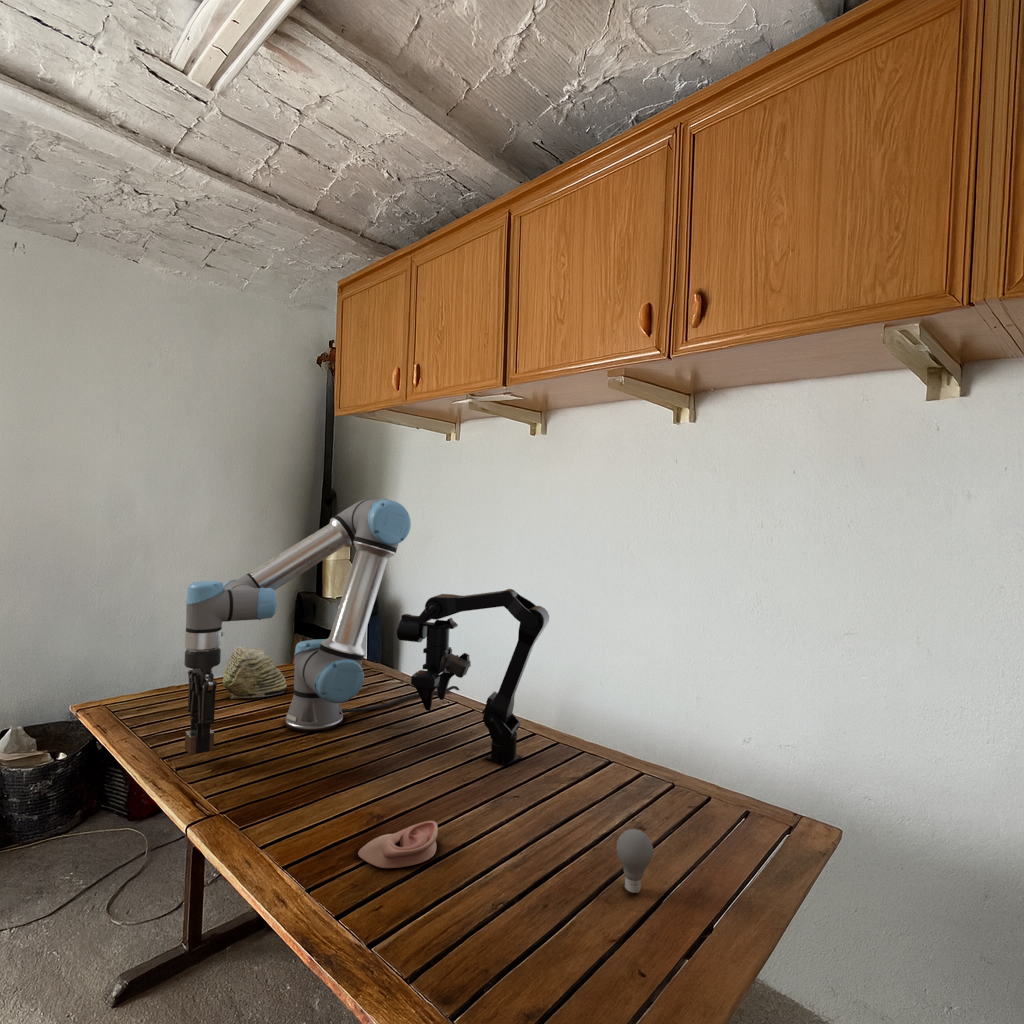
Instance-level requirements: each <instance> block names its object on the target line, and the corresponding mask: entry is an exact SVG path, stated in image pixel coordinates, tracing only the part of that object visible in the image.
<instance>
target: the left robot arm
mask: <svg viewBox="0 0 1024 1024" xmlns="http://www.w3.org/2000/svg"><path fill="white" fill-rule="evenodd" d="M411 526H412V523H411V517H410V514H409V512H408V511H407V508H406V507H405V506H403V505H402V504H401V503H400V502H397V501H396V500H395V501H394V500H392V499H387V498H381V499H378V498H377V499H376V498H365V499H362V500H360V501H357V502H355V503H354V504H352V505H350V506H349V507H347V508H346V509H344V510H342V511H341V512H339V513H338V514H336V515H335V516H332V517H331V518H330V519H329V523H328V524H327V525H325V526H323V527H322V528H320V529H319V530H318V529H317V531H315V532H314V533H312V534H309V536H307V537H305V538H304V539H302V540H300V541H299V542H297V543H296V544H294V545H292V546H290V547H289V548H287V549H286V550H283V551H282V552H281V553H279V554H277V555H276V556H273V558H271V559H269V560H267V561H266V562H264V563H262V564H261V565H259V566H257V567H256V568H254V569H252V570H251V571H249V572H248V573H245V574H244V575H243V576H241V577H239V578H237V579H230V580H228V581H226V582H224V583H223V582H221V581H217V580H199V581H194V582H191V583H190V584H189V585H188V586H187V594H186V601H185V605H186V609H185V630H184V631H185V633H184V648H185V649H186V650H185V651H184V661H183V663H184V666H185V667H186V668H188V669H189V670H188V671H187V677H188V689H187V690H188V691H187V692H188V694H187V695H188V696H187V713H189V717H190V723H189V724H190V729H189V731H191V730H196V729H197V734H196V755H197V754H201V753H207V752H210V751H209V748H210V729H211V724H214V723H215V711H216V709H215V708H216V691H217V685H218V682H217V680H214V679H215V677H214V673H213V670H212V669H214V667H218V666H219V665H220V664H221V655H222V649H221V648H220V646H222V637H224V632H223V631H222V629H223V628H222V627H223V626H222V625H223V623H224V622H225V623H227V622H238V621H239V622H240V621H262V620H266V619H272V618H273V617H274V616H275V614H276V612H277V607H278V606H277V605H278V599H277V593H276V590H278V589H279V588H281V587H283V586H284V585H286V584H287V583H289V582H291V581H292V580H293V579H295V578H297V577H298V576H300V575H302V574H303V573H305V572H306V571H308V570H309V569H311V568H313V567H314V566H316V565H317V564H319V563H320V562H322V561H324V560H325V559H327V558H328V557H330V556H332V555H333V554H335V553H336V552H338V551H340V550H341V549H343V548H344V547H345V548H351V547H353V546H354V547H355V550H356V551H355V553H354V558H353V561H352V563H351V566H350V571H349V573H348V577H347V580H346V583H345V586H344V589H343V593H342V596H341V599H340V602H339V605H338V608H337V611H336V615H335V618H334V621H333V624H332V627H331V630H330V634H329V636H328V638H323V639H322V638H320V639H307V640H303V641H299V642H297V644H296V645H295V650H294V651H295V652H294V653H293V654H294V655H293V656H294V672H293V673H294V674H293V695H292V696H293V697H292V699H291V702H290V704H289V708H288V711H287V713H286V715H285V726H286V728H287V729H289V730H291V731H294V732H295V731H296V732H301V733H316V732H325V731H329V730H332V729H335V728H337V727H339V726H340V725H342V723H343V722H344V714H343V713H358V712H359V713H360V712H367V711H373V710H378V709H382V708H386V707H389V706H392V705H395V704H397V703H400V702H403V701H406V700H410V699H413V698H418V697H419V698H420V696H419V694H418V693H415V694H410V695H406V696H403V697H400V698H397V699H394V700H392V701H388V702H385V703H382V704H377V705H373V706H367V707H359V708H358V707H357V708H342V706H341V704H342V703H347V702H348V701H349V700H352V699H353V698H355V697H356V696H357V695H358V694H359V693H360V691H361V689H362V688H363V686H364V681H365V673H364V669H363V667H362V665H363V661H364V658H365V654H366V653H365V651H364V649H363V647H362V644H363V641H364V638H365V635H366V631H367V628H368V624H369V622H370V618H371V615H372V612H373V609H374V605H375V602H376V600H377V595H378V593H379V589H380V586H381V583H382V579H383V577H384V572H385V570H386V566H387V563H388V560H389V559H390V558H392V557H394V556H395V555H396V553H397V550H398V547H399V544H400V543H402V542H403V541H405V540H406V538H407V537H408V536H409V534H410V531H411V528H412V527H411ZM451 690H456V691H460V688H459V687H458V686H456V685H452V686H448V687H447V691H446V693H448V692H450V691H451ZM433 695H438V692H437V690H434V693H433Z"/></svg>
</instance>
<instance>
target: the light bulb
mask: <svg viewBox="0 0 1024 1024" xmlns="http://www.w3.org/2000/svg"><path fill="white" fill-rule="evenodd" d="M615 849H616V854H617V857H618V859H619V861H620V863H621V865H622V867H623V873H624V874H623V875H624V876H625V878H624V888H625V890H627V891H628V892H630V893H634V894H635V893H639V892H640V891H641V889H642V887H641V886H642V879H643V877H644V875H645V871H646V868H647V867H648V866H649V864H650V863H651V861H652V859H653V855H654V847H653V843H652V841H651V838H649V836H648V835H647V834H646V833H645V832H643V831H642V830H641V829H636V828H629V829H627V830H625V831H623V832H622V833H621V834H620V835H619V837H618V839H617V841H616V847H615Z"/></svg>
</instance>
